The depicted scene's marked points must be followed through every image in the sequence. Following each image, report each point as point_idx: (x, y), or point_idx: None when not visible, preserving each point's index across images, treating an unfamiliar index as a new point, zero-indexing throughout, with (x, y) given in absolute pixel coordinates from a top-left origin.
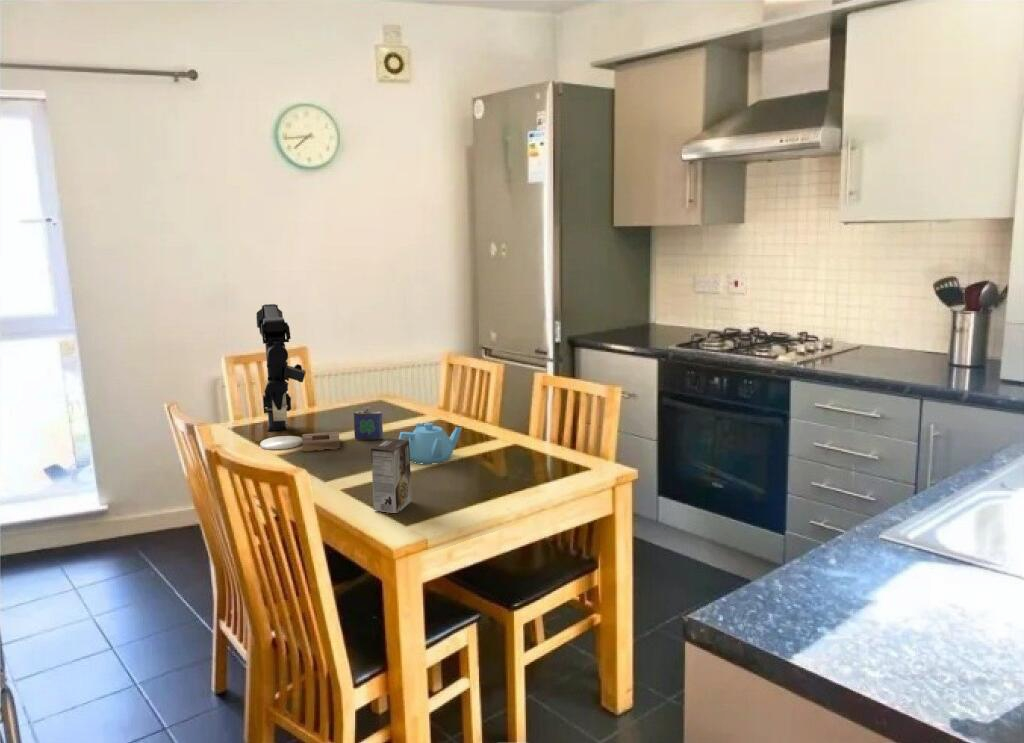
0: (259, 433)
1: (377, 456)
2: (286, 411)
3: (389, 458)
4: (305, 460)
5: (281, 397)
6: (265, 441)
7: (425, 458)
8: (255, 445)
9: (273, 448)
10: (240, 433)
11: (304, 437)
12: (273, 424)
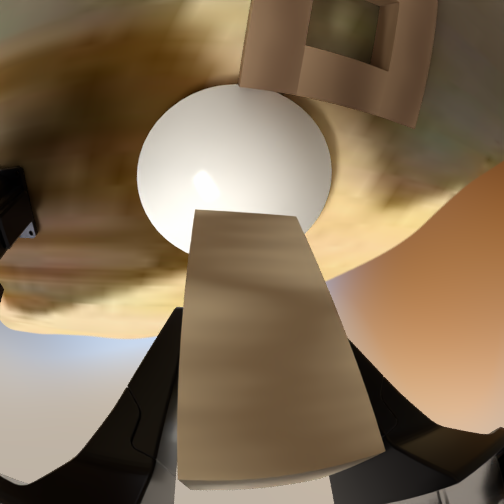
0: (59, 256)
1: None
2: (244, 247)
3: None
4: (470, 144)
5: (398, 406)
6: None
7: None
8: None
9: (313, 219)
10: (62, 301)
11: (317, 88)
12: (23, 228)
